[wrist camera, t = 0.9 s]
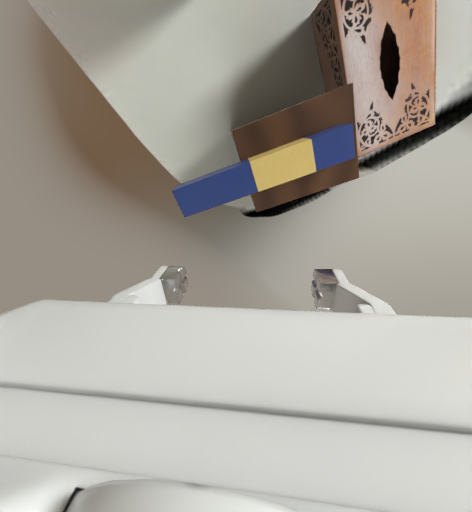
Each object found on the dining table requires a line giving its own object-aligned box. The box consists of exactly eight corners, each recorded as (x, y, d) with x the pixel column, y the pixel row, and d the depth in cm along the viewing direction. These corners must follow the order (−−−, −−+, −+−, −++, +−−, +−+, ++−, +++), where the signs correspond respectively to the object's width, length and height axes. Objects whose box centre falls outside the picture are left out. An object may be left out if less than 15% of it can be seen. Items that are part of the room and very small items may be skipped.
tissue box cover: (310, 14, 42) (332, -16, 33) (390, -31, 39) (437, -77, 30) (337, 153, 54) (358, 157, 45) (399, 125, 51) (434, 124, 42)
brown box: (246, 181, 56) (256, 212, 35) (230, 130, 51) (231, 130, 30) (309, 159, 54) (359, 177, 33) (299, 102, 48) (353, 82, 27)
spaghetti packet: (188, 210, 35) (184, 217, 32) (177, 185, 33) (171, 190, 30) (343, 155, 32) (355, 157, 28) (340, 123, 30) (353, 123, 27)
